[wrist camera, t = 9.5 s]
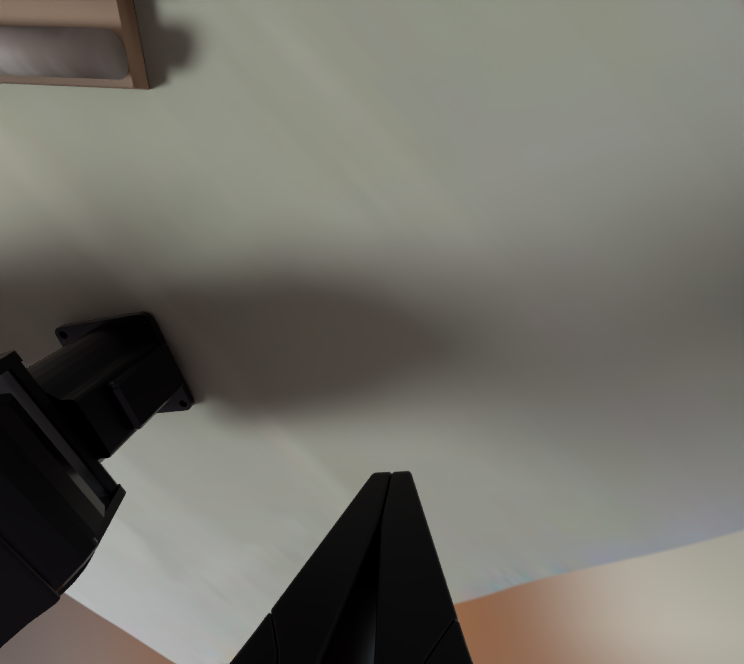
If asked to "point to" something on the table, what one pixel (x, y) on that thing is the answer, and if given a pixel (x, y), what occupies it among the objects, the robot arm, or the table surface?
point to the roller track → (84, 19)
